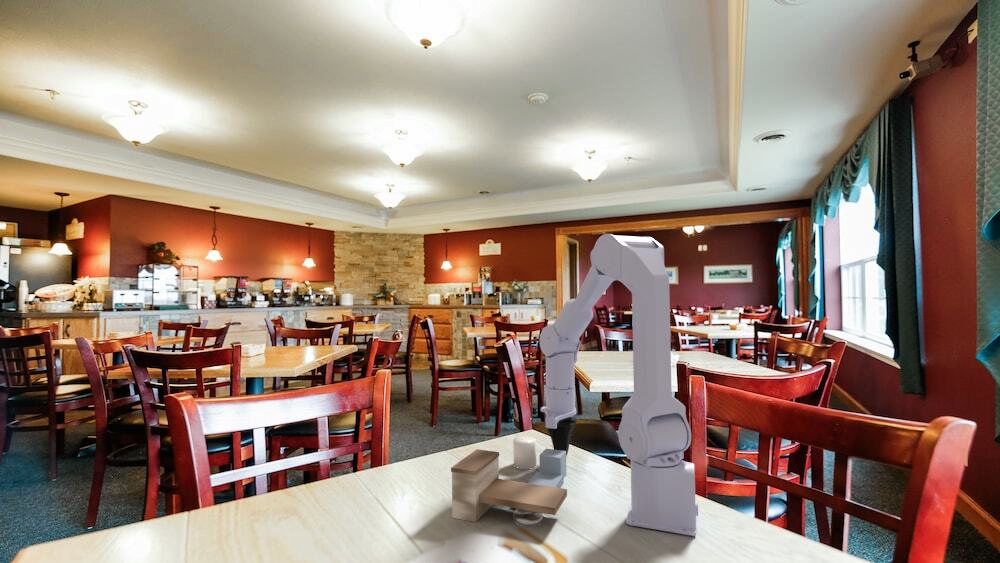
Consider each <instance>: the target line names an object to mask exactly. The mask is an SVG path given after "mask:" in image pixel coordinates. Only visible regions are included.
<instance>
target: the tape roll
mask: <svg viewBox="0 0 1000 563" xmlns="http://www.w3.org/2000/svg"><path fill="white" fill-rule="evenodd" d="M543 514H544V513H539V512H533V511H527V510H521V509H516V508H515V510H514V511H513V523H515V524H516V523H517V524H516V525H518V524H519V525H518V526H520V525H522V526H521V527H524V526H526V527H525V528H532V527H536V526H537V527H538V526H539V525H541V524H542V523H543ZM531 526H532V527H531Z"/></svg>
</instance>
